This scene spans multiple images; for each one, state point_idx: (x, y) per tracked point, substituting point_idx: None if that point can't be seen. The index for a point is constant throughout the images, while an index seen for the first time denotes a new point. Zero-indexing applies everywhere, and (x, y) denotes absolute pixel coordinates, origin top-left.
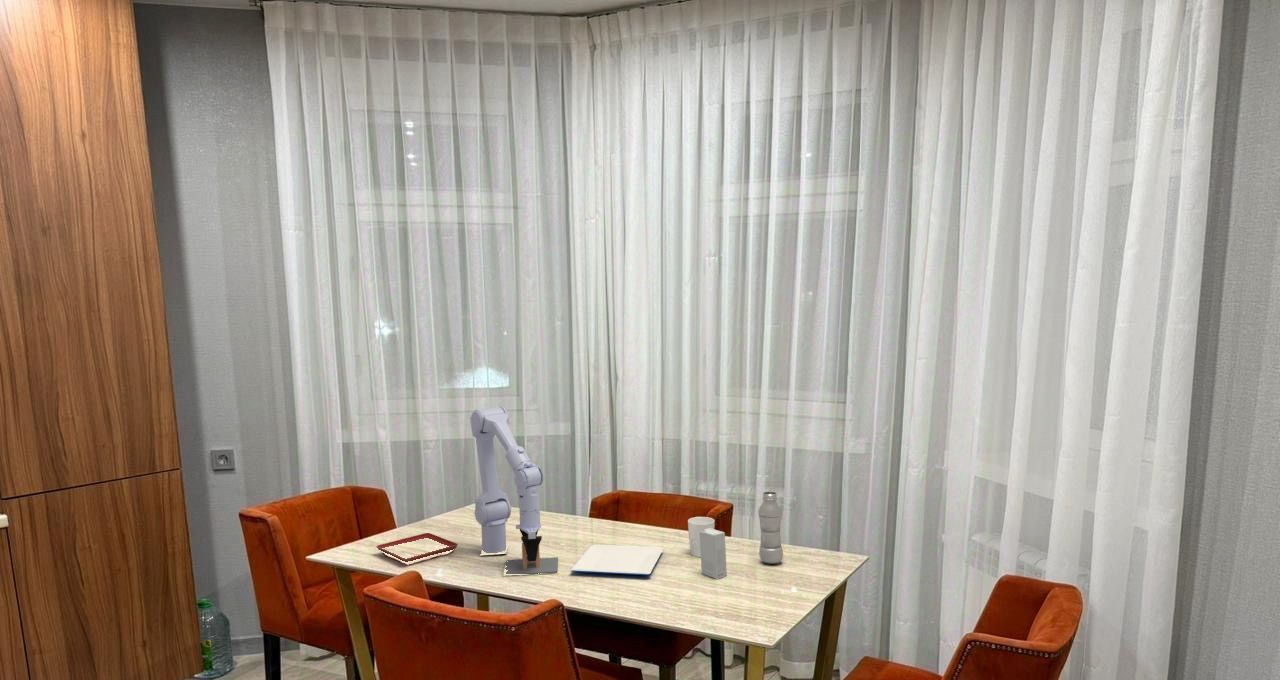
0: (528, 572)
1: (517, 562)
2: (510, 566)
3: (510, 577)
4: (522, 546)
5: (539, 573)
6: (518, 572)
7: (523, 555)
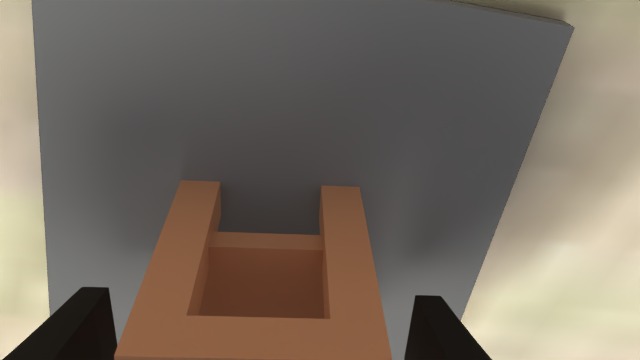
0: (62, 215)
1: (424, 142)
2: (312, 53)
3: (3, 16)
4: (204, 357)
5: (52, 295)
6: (74, 121)
7: (146, 279)
